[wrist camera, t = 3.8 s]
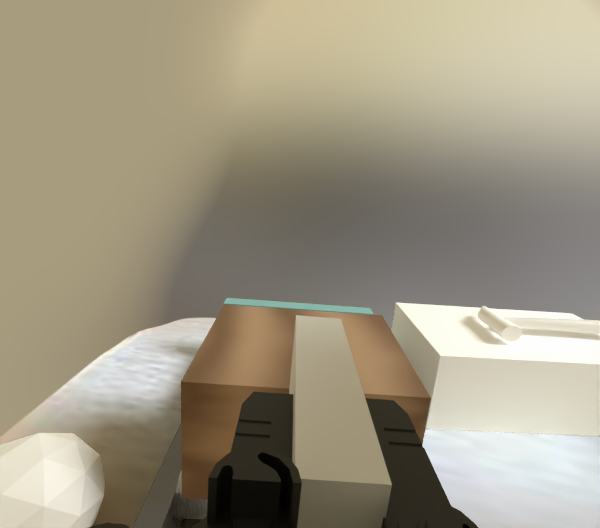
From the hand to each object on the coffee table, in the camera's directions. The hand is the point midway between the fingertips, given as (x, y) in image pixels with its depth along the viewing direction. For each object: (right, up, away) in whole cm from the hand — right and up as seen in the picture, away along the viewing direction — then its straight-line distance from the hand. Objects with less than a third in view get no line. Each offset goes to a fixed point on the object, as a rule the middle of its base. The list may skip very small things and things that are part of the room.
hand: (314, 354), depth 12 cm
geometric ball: (-17, -15, +11) cm, 25 cm away
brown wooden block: (-1, -10, +16) cm, 19 cm away
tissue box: (+25, -13, +32) cm, 43 cm away
